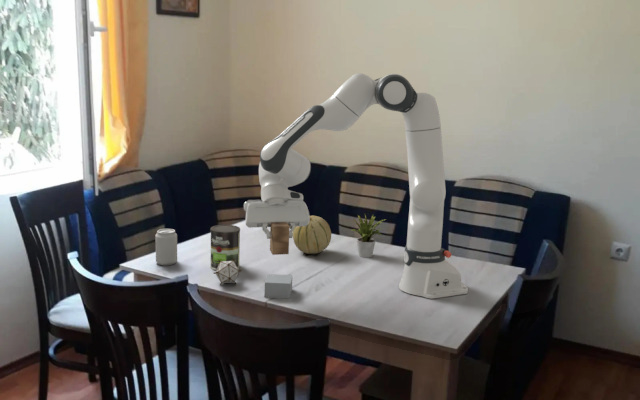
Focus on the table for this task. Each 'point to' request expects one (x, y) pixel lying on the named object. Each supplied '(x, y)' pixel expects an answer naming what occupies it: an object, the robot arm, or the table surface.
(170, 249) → the can
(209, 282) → the table surface
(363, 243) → the house plant
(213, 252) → the coffee can
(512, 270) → the table surface
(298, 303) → the table surface
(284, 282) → the base block
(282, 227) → the walnut block
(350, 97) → the robot arm
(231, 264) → the game die
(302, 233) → the cantaloupe
